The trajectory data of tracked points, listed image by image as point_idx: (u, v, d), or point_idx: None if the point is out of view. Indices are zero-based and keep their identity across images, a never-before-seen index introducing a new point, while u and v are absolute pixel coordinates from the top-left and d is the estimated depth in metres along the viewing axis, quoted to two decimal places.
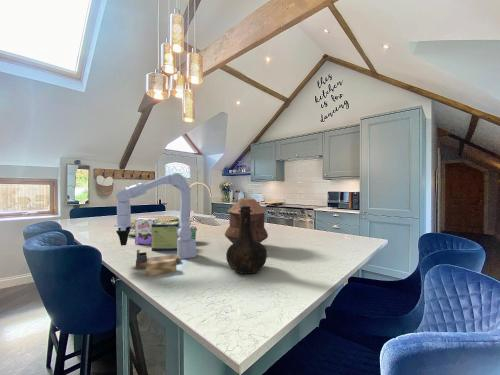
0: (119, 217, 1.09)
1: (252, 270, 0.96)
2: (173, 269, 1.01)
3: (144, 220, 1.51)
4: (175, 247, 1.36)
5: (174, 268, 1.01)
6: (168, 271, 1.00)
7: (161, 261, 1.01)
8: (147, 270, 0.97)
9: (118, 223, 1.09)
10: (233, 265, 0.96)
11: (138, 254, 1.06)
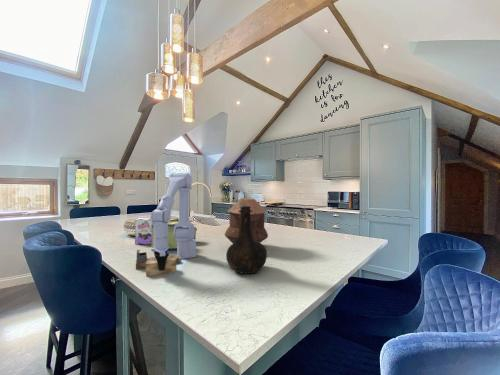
0: (157, 240, 0.98)
1: (252, 270, 0.96)
2: (173, 268, 1.01)
3: (144, 220, 1.51)
4: (175, 247, 1.36)
5: (174, 268, 1.01)
6: (168, 271, 1.00)
7: None
8: (147, 270, 0.97)
9: (155, 247, 0.98)
10: (233, 265, 0.96)
11: (138, 254, 1.06)
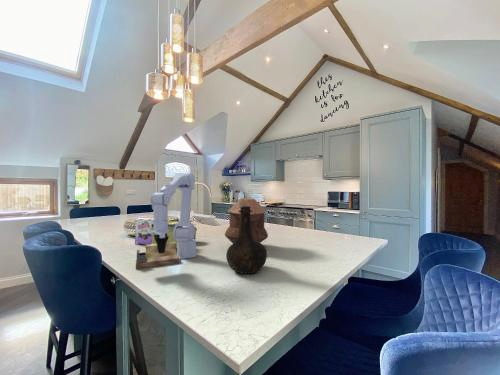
0: (156, 223, 0.98)
1: (252, 270, 0.96)
2: (173, 251, 1.01)
3: (144, 220, 1.51)
4: None
5: (174, 251, 1.01)
6: (168, 254, 1.00)
7: None
8: (147, 252, 0.97)
9: (155, 229, 0.98)
10: (233, 265, 0.96)
11: (138, 254, 1.06)
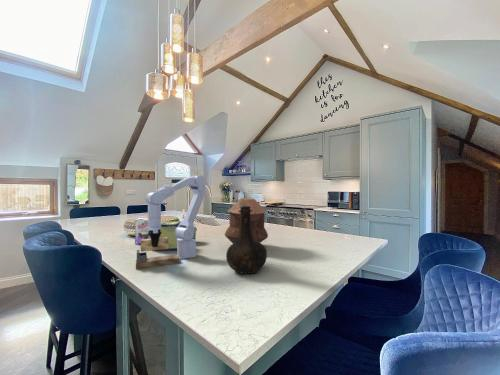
0: (150, 220, 1.09)
1: (252, 270, 0.96)
2: (165, 246, 1.12)
3: (144, 220, 1.51)
4: (175, 247, 1.36)
5: (166, 245, 1.12)
6: (161, 247, 1.11)
7: None
8: (142, 246, 1.08)
9: (149, 225, 1.09)
10: (233, 265, 0.96)
11: (138, 254, 1.06)
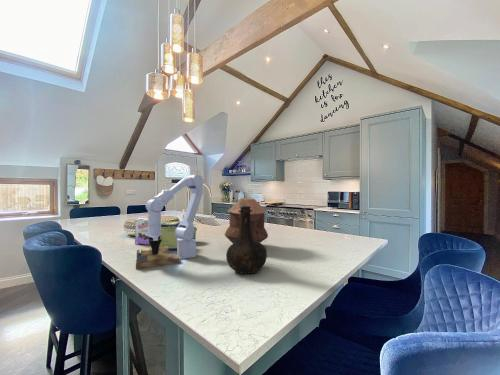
0: (150, 227, 1.09)
1: (252, 270, 0.96)
2: (165, 255, 1.12)
3: (144, 220, 1.51)
4: (175, 247, 1.36)
5: (166, 255, 1.12)
6: (161, 257, 1.11)
7: None
8: None
9: (149, 233, 1.09)
10: (233, 265, 0.96)
11: (138, 254, 1.06)
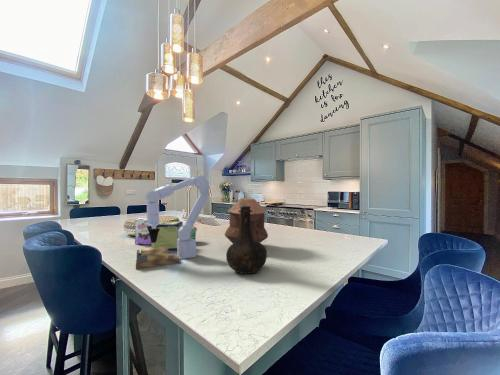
0: (149, 216, 1.17)
1: (252, 270, 0.96)
2: (165, 255, 1.12)
3: (144, 220, 1.51)
4: (175, 247, 1.36)
5: (166, 255, 1.12)
6: (161, 257, 1.11)
7: (154, 248, 1.12)
8: None
9: (148, 222, 1.17)
10: (233, 265, 0.96)
11: (138, 254, 1.06)
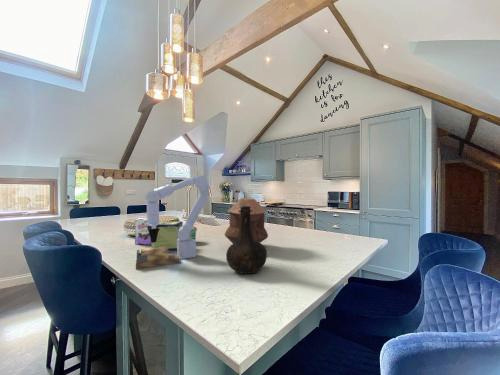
0: (149, 216, 1.17)
1: (252, 270, 0.96)
2: (165, 255, 1.12)
3: (144, 220, 1.51)
4: (175, 247, 1.36)
5: (166, 255, 1.12)
6: (161, 257, 1.11)
7: (154, 248, 1.12)
8: None
9: (148, 222, 1.17)
10: (233, 265, 0.96)
11: (138, 254, 1.06)
